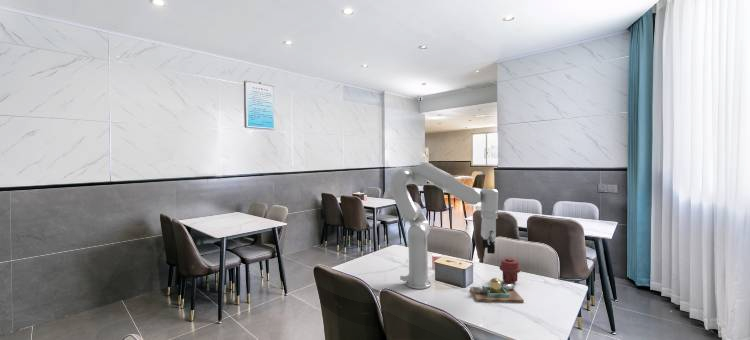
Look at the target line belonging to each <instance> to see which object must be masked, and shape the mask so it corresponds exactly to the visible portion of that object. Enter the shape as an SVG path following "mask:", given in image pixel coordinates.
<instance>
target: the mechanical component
mask: <svg viewBox="0 0 750 340" xmlns="http://www.w3.org/2000/svg"><path fill="white" fill-rule="evenodd" d="M499 270H500V271H501V272H502V280H503V282H504V281H505V282H504V283H506V282H507V283H506V284H508V283H509V284H513V285H514V282H515V283H517V282H518V273H519V274H520V273H521V272H522V271H521V270H522V268H521V267H520V261H518V260H517V259H514V258H512V257H507V258H503V259H501V260H500V265H499Z"/></svg>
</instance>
